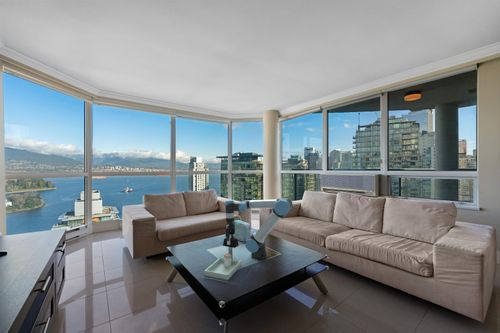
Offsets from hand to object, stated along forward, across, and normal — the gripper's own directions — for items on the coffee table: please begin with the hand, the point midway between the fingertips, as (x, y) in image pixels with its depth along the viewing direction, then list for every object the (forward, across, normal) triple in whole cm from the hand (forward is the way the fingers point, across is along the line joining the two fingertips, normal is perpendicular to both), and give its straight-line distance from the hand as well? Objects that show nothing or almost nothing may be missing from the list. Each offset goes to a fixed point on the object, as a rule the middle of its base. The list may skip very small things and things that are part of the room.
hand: (230, 242), depth 189 cm
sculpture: (+3, 0, 0) cm, 3 cm away
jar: (+13, +15, +4) cm, 21 cm away
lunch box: (+14, -48, -13) cm, 52 cm away
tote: (+14, +22, +4) cm, 27 cm away
